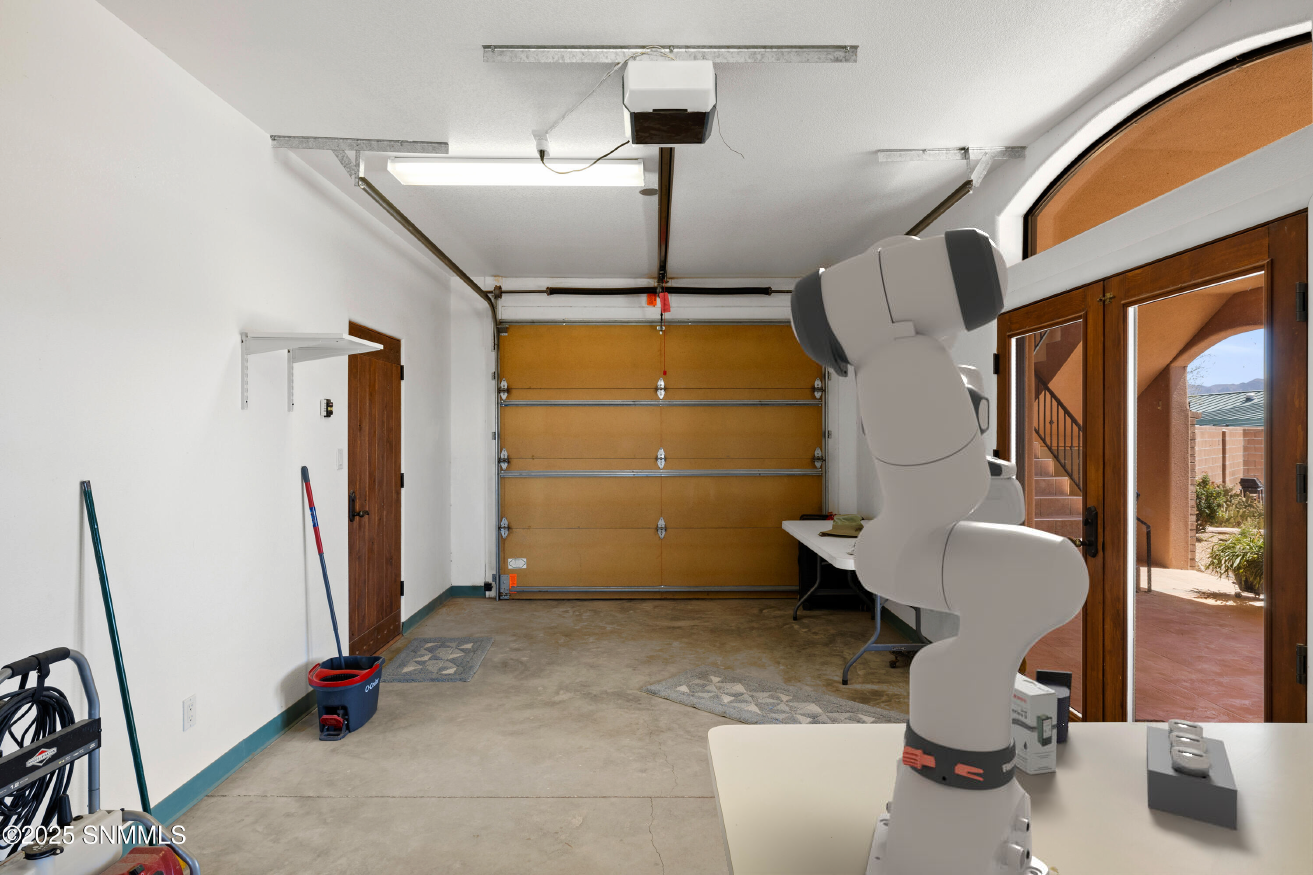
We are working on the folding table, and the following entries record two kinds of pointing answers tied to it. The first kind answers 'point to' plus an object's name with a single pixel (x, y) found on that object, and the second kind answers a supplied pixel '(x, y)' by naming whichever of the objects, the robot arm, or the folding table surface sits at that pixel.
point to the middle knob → (1187, 742)
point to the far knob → (1184, 727)
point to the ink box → (1034, 726)
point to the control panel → (1191, 783)
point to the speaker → (1058, 697)
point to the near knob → (1190, 761)
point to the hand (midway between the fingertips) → (955, 547)
